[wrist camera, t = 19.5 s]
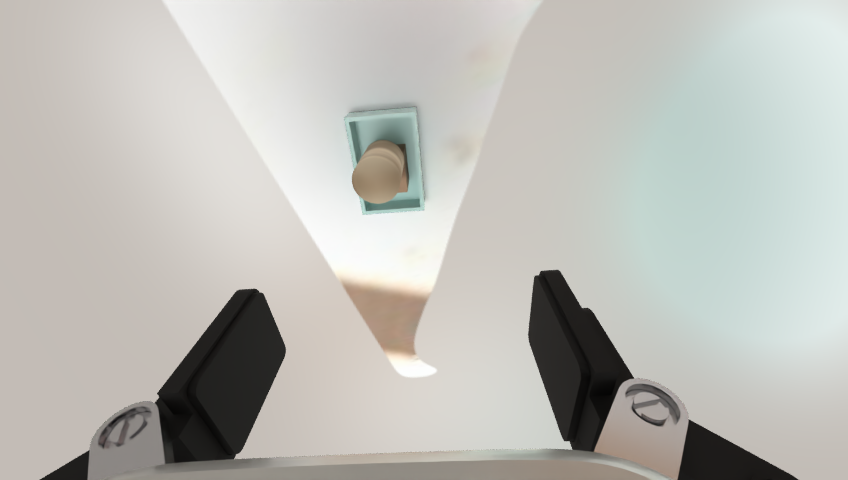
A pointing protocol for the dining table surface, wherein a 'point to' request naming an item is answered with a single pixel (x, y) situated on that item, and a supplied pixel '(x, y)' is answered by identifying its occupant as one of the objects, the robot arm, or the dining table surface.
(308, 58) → the dining table surface
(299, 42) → the dining table surface
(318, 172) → the dining table surface
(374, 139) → the tote
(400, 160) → the beech dowel
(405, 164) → the walnut cube
